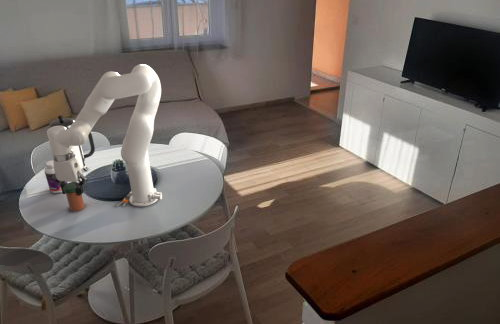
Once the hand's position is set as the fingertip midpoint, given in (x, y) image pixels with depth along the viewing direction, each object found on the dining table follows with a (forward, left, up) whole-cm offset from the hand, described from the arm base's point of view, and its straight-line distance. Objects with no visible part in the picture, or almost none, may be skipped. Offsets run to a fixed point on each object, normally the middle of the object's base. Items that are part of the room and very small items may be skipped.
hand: (73, 193), depth 175 cm
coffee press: (+23, -32, -8) cm, 40 cm away
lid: (0, 0, +3) cm, 3 cm away
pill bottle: (+18, -12, -8) cm, 23 cm away
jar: (0, 0, -7) cm, 7 cm away
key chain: (-18, -11, -8) cm, 23 cm away
